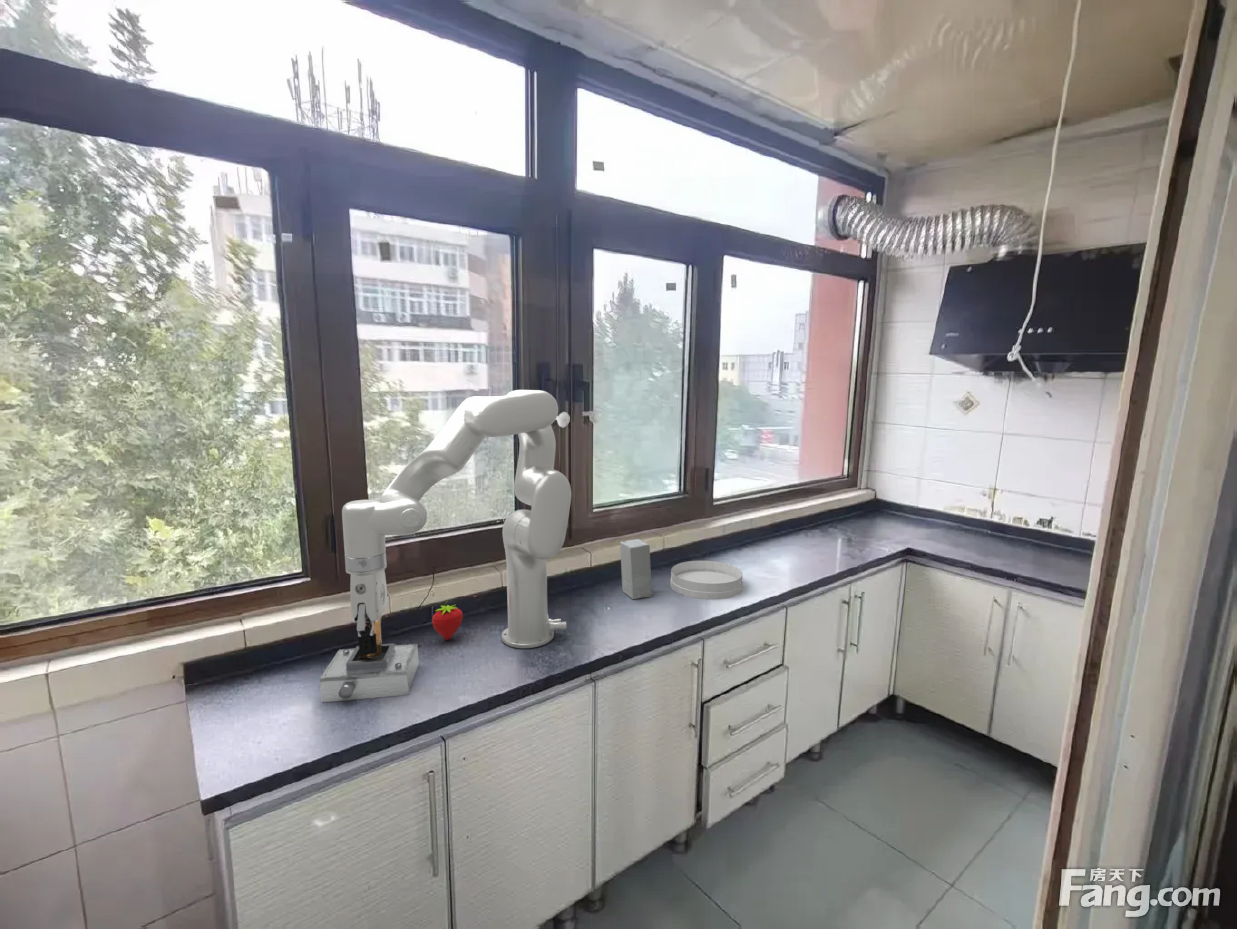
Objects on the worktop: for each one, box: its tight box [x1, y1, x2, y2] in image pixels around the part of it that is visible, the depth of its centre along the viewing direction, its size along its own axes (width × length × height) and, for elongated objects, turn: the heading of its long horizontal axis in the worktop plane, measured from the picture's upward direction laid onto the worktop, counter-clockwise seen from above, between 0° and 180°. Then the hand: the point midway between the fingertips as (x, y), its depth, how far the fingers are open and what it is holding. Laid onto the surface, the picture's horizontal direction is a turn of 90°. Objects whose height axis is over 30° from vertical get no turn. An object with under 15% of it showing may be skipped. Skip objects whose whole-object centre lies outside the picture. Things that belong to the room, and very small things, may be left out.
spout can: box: [361, 617, 382, 658], centre depth 114 cm, size 4×4×10 cm
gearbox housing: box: [319, 643, 420, 703], centre depth 114 cm, size 16×14×6 cm
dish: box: [669, 560, 744, 600], centre depth 173 cm, size 22×22×5 cm
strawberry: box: [431, 600, 464, 641], centre depth 135 cm, size 6×8×10 cm
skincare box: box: [619, 538, 653, 600], centre depth 165 cm, size 8×7×16 cm
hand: (371, 647), depth 115 cm, fingers closed on spout can, 4 cm apart
